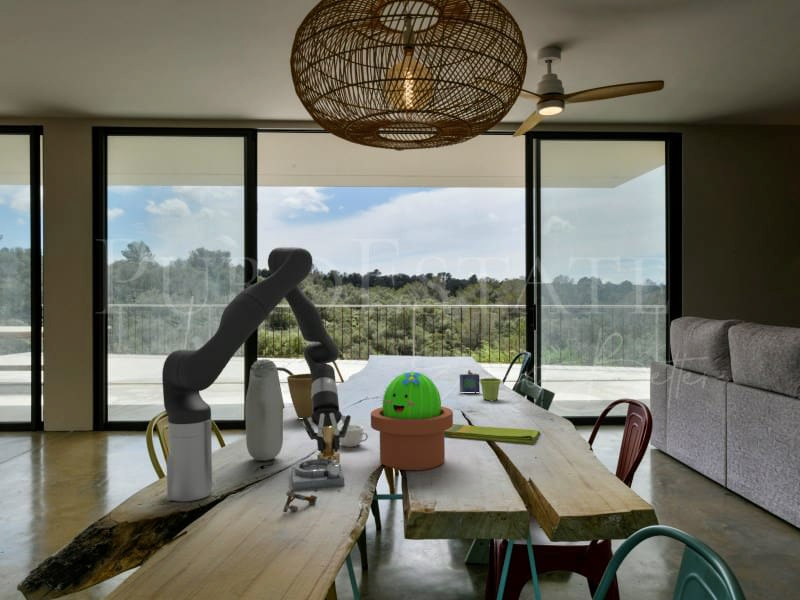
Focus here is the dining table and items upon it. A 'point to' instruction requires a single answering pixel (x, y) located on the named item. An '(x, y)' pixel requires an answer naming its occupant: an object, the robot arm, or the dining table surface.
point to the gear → (328, 444)
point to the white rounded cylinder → (264, 411)
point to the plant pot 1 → (301, 394)
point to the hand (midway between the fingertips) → (329, 450)
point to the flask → (469, 382)
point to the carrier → (317, 474)
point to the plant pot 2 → (490, 388)
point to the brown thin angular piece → (291, 494)
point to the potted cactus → (412, 423)
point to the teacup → (352, 436)
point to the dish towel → (492, 434)
